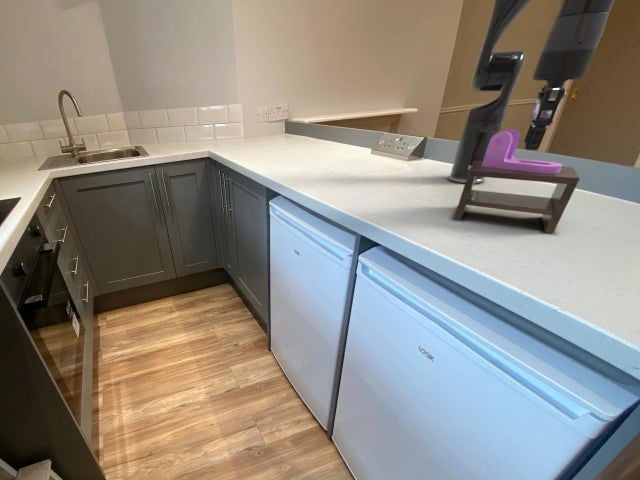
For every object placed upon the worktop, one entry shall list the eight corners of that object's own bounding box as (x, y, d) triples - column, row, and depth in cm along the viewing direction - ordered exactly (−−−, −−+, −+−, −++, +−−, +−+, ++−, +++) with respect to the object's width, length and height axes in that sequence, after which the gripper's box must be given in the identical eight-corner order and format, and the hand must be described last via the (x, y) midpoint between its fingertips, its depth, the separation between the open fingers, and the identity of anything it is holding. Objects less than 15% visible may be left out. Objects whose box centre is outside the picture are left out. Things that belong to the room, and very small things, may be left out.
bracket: (481, 166, 75) (492, 131, 71) (491, 162, 78) (502, 128, 74) (554, 175, 66) (572, 135, 62) (562, 170, 69) (580, 132, 65)
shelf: (459, 206, 86) (474, 160, 80) (549, 218, 77) (573, 167, 71) (453, 219, 78) (469, 169, 72) (553, 233, 69) (580, 178, 64)
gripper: (603, 44, 54) (556, 153, 63) (590, 48, 64) (551, 142, 72) (544, 48, 58) (507, 150, 66) (540, 51, 67) (508, 140, 76)
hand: (530, 146), depth 69 cm, fingers open, 8 cm apart
